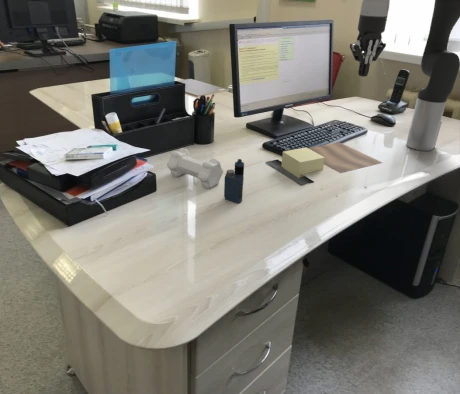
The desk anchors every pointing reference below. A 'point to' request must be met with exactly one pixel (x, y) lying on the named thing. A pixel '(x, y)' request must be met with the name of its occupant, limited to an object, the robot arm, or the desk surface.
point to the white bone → (195, 168)
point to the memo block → (302, 161)
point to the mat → (288, 173)
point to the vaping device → (234, 183)
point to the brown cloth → (344, 157)
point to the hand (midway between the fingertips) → (362, 75)
